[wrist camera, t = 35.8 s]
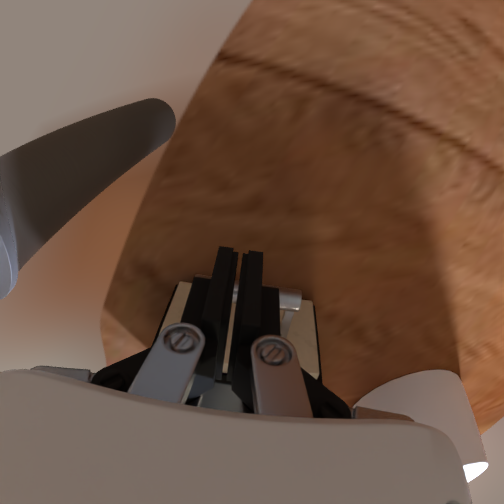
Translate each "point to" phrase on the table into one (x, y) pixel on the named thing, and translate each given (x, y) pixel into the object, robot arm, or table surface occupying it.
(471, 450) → the cylinder
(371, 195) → the table surface
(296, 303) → the drawer
